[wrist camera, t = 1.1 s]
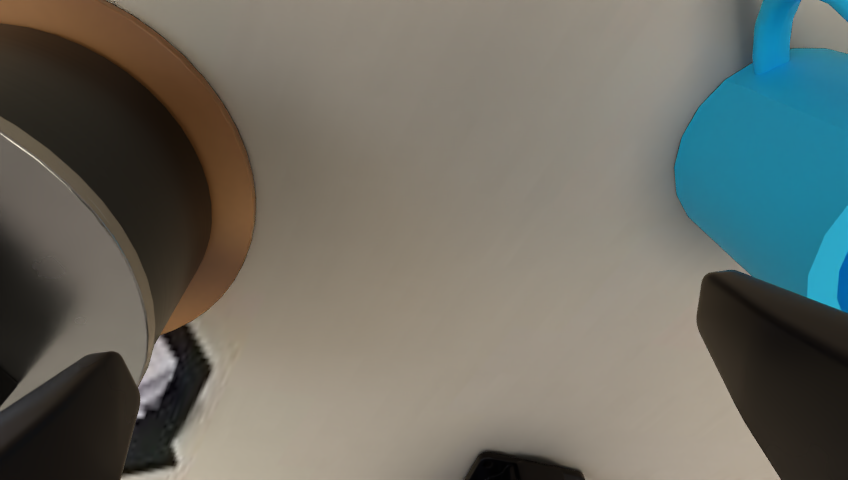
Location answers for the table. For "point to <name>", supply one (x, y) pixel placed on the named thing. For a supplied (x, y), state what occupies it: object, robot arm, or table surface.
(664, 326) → the table surface
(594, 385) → the table surface
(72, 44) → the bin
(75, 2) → the turntable
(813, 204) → the mug
